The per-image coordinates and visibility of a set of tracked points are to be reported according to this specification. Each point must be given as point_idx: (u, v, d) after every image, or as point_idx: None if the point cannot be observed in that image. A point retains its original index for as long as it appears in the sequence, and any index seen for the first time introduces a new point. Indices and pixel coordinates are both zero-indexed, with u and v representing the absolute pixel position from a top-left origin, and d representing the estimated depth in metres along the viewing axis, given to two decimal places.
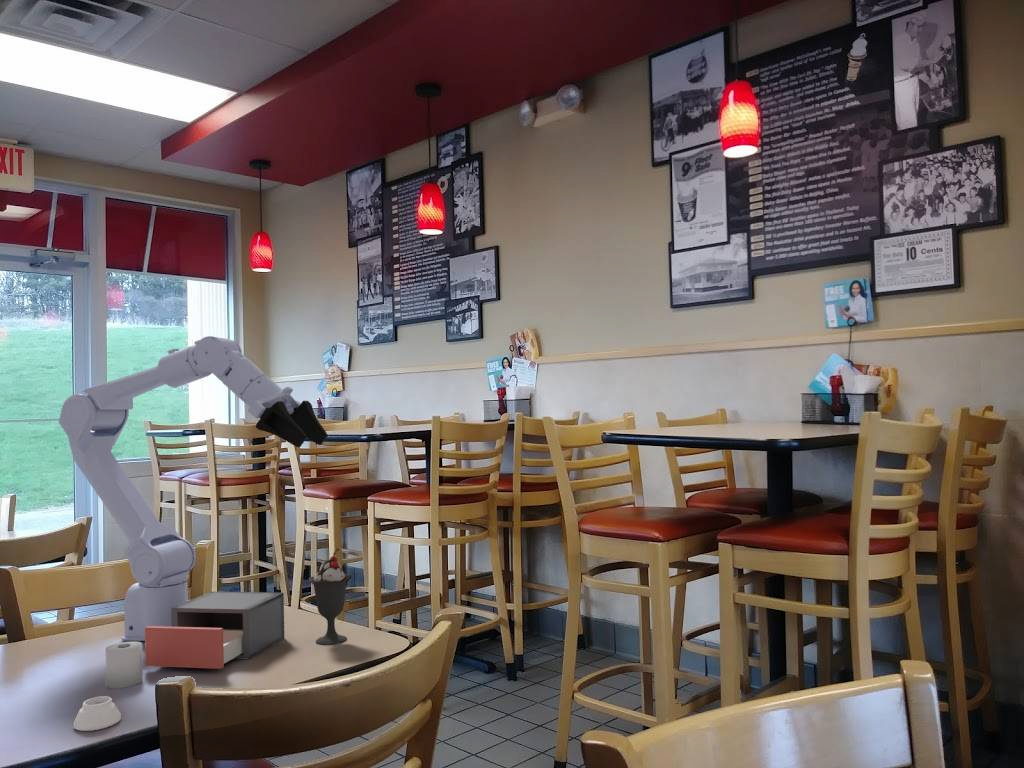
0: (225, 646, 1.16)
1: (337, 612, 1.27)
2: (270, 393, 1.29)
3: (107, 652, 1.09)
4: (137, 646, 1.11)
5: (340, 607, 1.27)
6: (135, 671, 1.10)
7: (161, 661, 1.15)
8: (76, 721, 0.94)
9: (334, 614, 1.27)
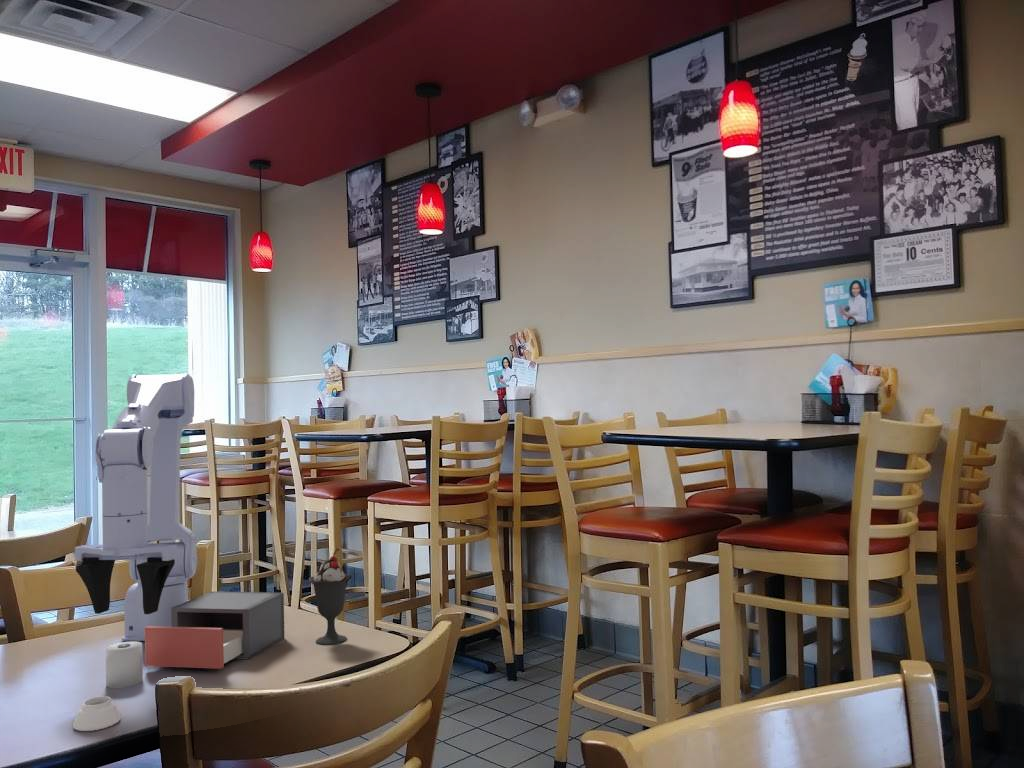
0: (225, 646, 1.16)
1: (337, 612, 1.27)
2: None
3: (107, 652, 1.09)
4: (137, 646, 1.11)
5: (340, 607, 1.27)
6: (135, 671, 1.10)
7: (161, 661, 1.15)
8: (76, 721, 0.94)
9: (334, 614, 1.27)
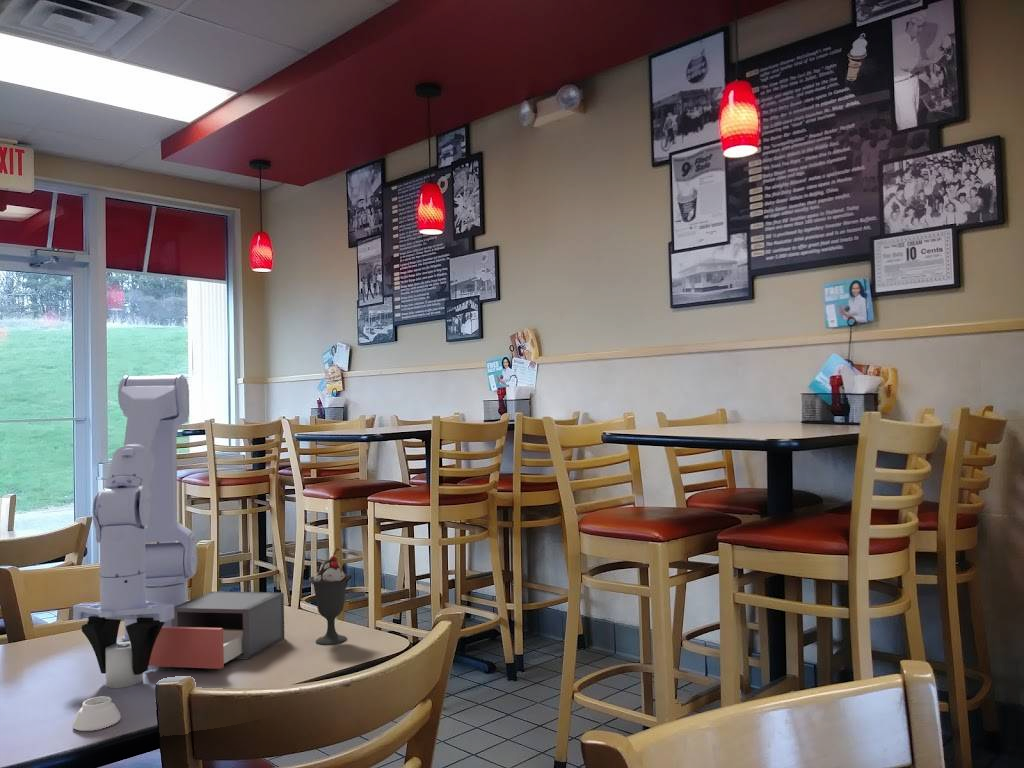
0: (225, 646, 1.16)
1: (337, 612, 1.27)
2: (100, 602, 1.10)
3: (107, 652, 1.09)
4: None
5: (340, 607, 1.27)
6: None
7: (161, 661, 1.15)
8: (76, 721, 0.94)
9: (334, 614, 1.27)
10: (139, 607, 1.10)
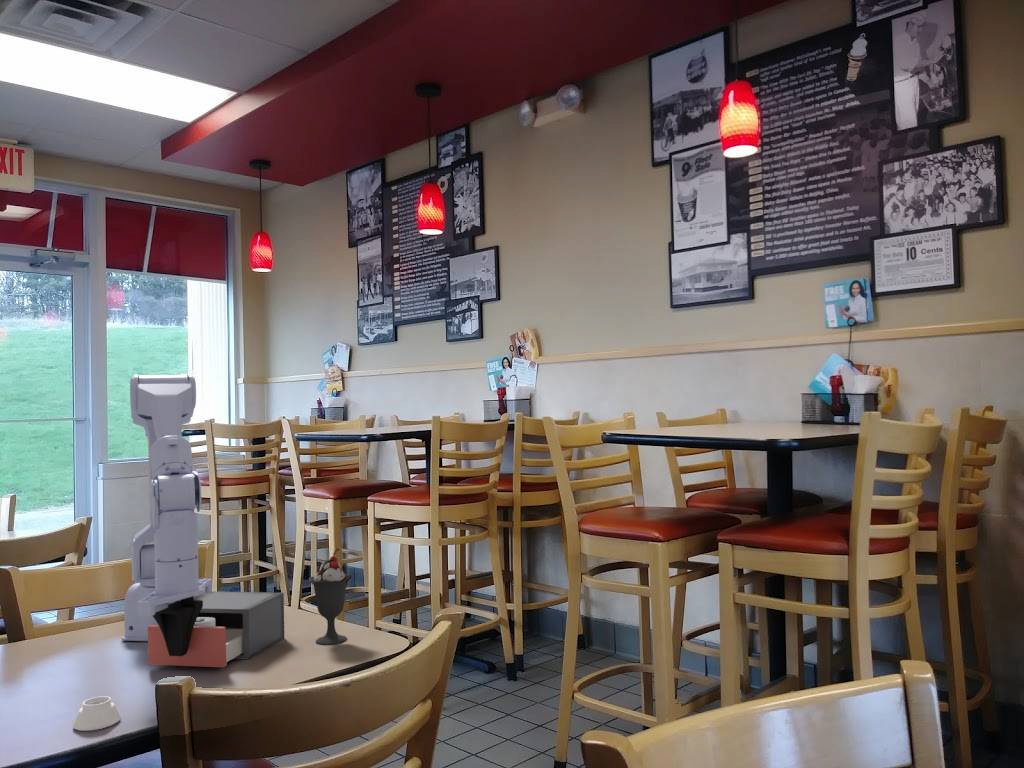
0: (227, 645, 1.16)
1: (337, 612, 1.27)
2: (179, 587, 1.11)
3: None
4: (211, 621, 1.18)
5: (340, 607, 1.27)
6: None
7: (164, 660, 1.15)
8: (76, 721, 0.94)
9: (334, 614, 1.27)
10: None
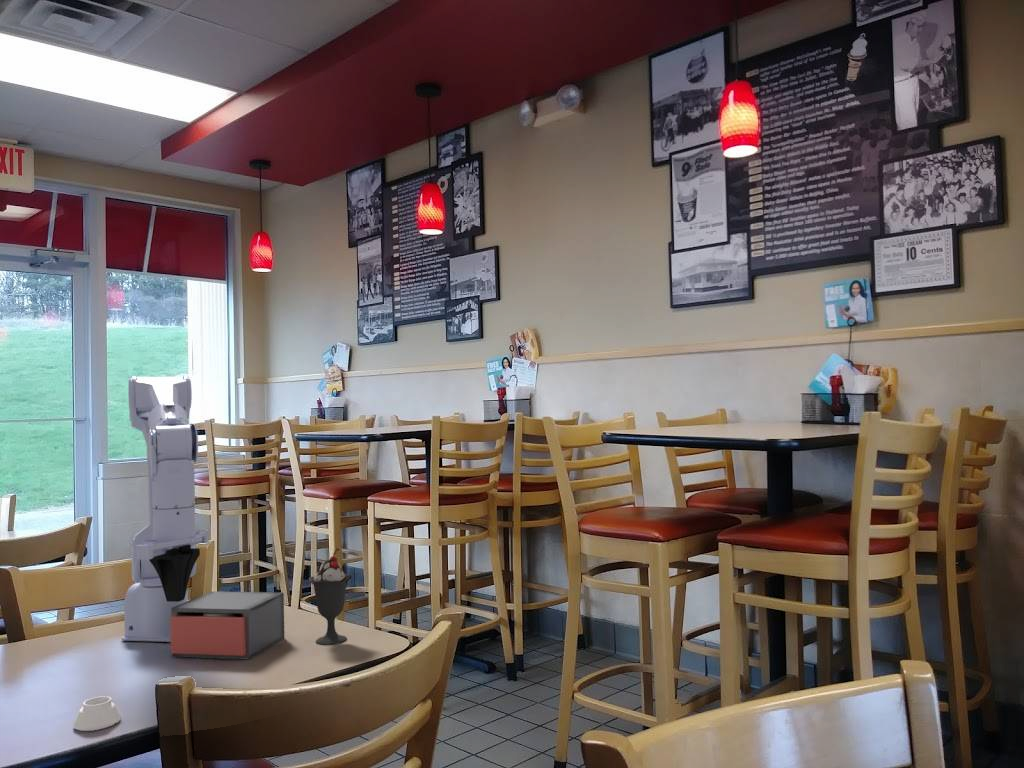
0: None
1: (337, 612, 1.27)
2: (176, 534, 1.14)
3: None
4: None
5: (340, 607, 1.27)
6: None
7: (186, 649, 1.21)
8: (76, 721, 0.94)
9: (334, 614, 1.27)
10: None
